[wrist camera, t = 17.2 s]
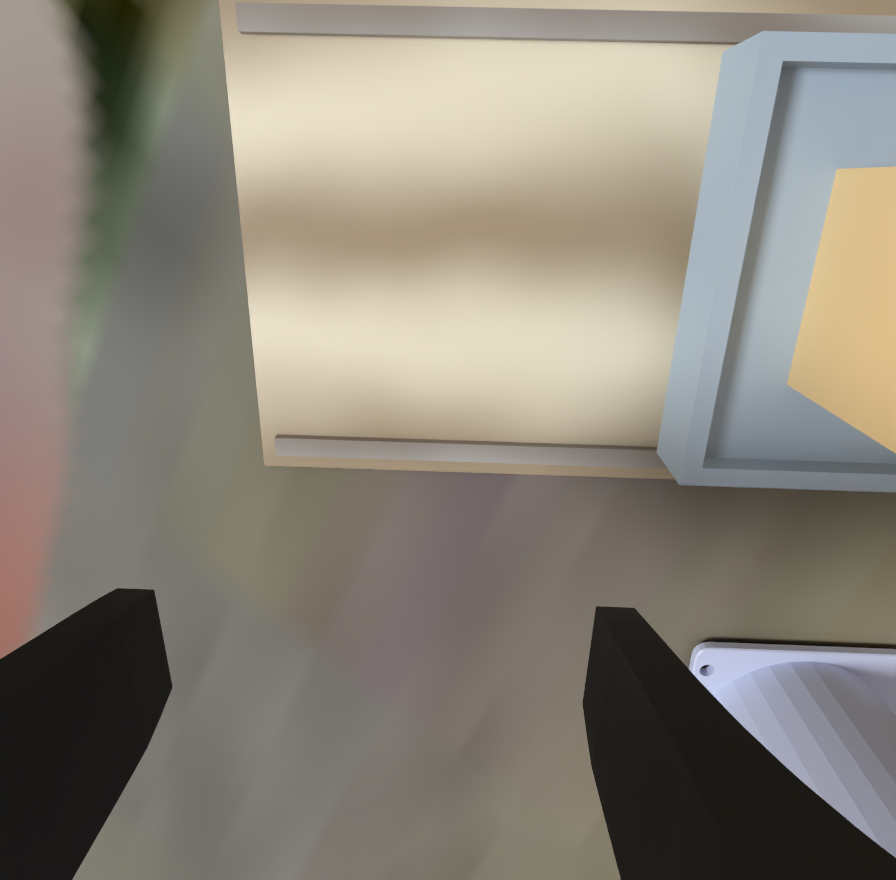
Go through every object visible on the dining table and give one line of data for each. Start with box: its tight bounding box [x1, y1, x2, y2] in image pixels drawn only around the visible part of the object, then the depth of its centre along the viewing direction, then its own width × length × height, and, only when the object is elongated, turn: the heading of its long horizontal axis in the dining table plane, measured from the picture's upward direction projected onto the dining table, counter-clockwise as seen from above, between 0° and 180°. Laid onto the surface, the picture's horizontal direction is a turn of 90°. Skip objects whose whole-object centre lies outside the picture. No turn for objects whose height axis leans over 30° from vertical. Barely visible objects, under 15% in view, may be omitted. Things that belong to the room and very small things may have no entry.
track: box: [219, 0, 896, 479], centre depth 17 cm, size 13×25×2 cm, turn 89°
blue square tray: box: [657, 31, 896, 493], centre depth 16 cm, size 10×10×3 cm
